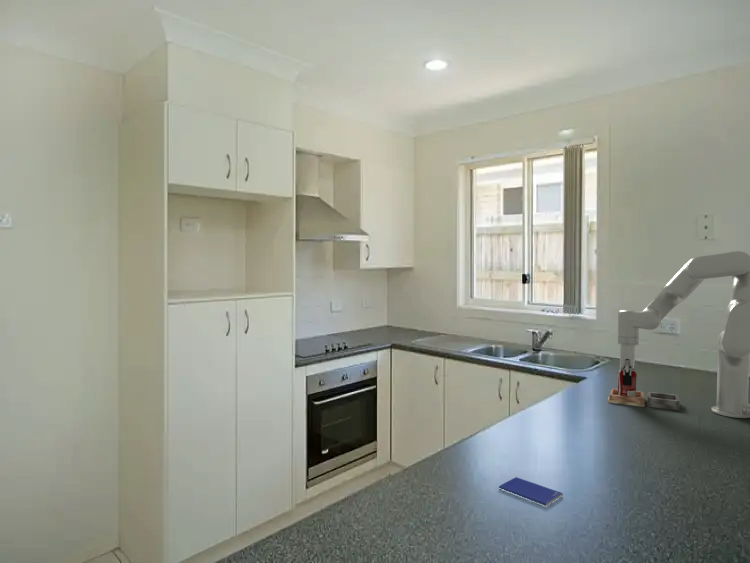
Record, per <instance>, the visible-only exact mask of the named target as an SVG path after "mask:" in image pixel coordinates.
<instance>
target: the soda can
mask: <svg viewBox="0 0 750 563" xmlns="http://www.w3.org/2000/svg"><path fill="white" fill-rule="evenodd" d="M623 371H624V367H623V368H622V369H620V368H619V370H618V371H617V382H616V385H617V386H616V389H617V395H620V396H628V397H636V391H637V372H636V369H635V368H633V370H631V376H632V385H631V386H627V385H623Z"/></svg>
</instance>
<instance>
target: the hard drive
mask: <svg viewBox="0 0 750 563" xmlns="http://www.w3.org/2000/svg"><path fill="white" fill-rule="evenodd" d="M499 488H501V489H504V490H506V491H509V492H512V493H514V494H517V495H519V496H522V497H524V498H527V499H529V500H531V501H534V502H536V503H539V504H542V505H544V506H547V505H549V504H550V503H552V502H553V501H555V500H556V499H558V498H560V497H561V496H562V495H563V496H564V493H563V492H561V491H557V490H555V489H552V488H549V487H545V486H543V485H540V484H537V483H536V482H535V483H534V482H532V481H528V480H525V479H522V478H520V477H517V476H516V477H514V478H512V479H510V480H508V481H506V482H504V483H502V484H500V485H499V486H498V489H499ZM560 499H561V498H560Z"/></svg>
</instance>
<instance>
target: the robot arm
mask: <svg viewBox="0 0 750 563" xmlns="http://www.w3.org/2000/svg"><path fill="white" fill-rule="evenodd" d="M725 277H732V286H731V287H732V288H731V293H730V296H729V301H728V304H727V307H726V310H725V316H726V322H725V327H724V328H725V329H724V330H722V331H721V332H720V333H719V335H718V337H717V345H716V346H717V376H716V378H717V379H716V405H714V406H711V409H710V410H711V412H713V413H714V414H716V415H719V416H724V417H729V418H737V419H750V403H749V380H750V379H749V378H750V254H749V253H747V252H745V251H742V250H735V251H729V252H723V253H715V254H710V255H701V256H694V257H692V258H690V259H688V261H687V262H686V263H685V264H684V265H683V266H682V267H681V268H680V269H679V271H677V272H676V273H675V275H674V276H673V277H671V279H670V280H669V281H668V282H667V283H666V284H665V285H664V287H663V288H662V289H661V291H660V292H659V294H657V295H656V296H655V297H654V298H653V300H652V301H651V302H650V303H649V304H648V305H647V306H646V307H645V308H644V309H643V310H641V311H638V310H635V309H621V310H619V311H618V313H617V314H618V315H617V344H618V345H620V348H619V350H620V351H619V370H620V369H622V368H623V367H624V371H623V385H627V386H631V385H632V376H631V370H633V369H635V368H634V367H635V360H636V358H635V357H636V346H639V341H640V340H639V339H640V338H639V334H640V329H642V330H648V331H650V330H651V331H652V330H655V329H656V330H657V329H658V328H659V327H660V325H661V322H662V320H664V318H666V317H667V315H668V314H669V313H670V312H671V311H672V310H673V309H674V308H675V307H677V306H678V305H680V304H681V303H683V302H684V301H685V300H687V299H688V297H689V296H691V294H692V293H694V291H695V290H696V289H698V288H699V286H700V284H702V282H704V281H705V280H708V279H716V278H717V279H718V278H725Z"/></svg>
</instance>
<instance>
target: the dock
mask: <svg viewBox="0 0 750 563" xmlns="http://www.w3.org/2000/svg"><path fill="white" fill-rule="evenodd" d="M644 394H645V393H644V391H639V390H636V397H628V396H620V395H617V388H611V389H610V392H609V395H608V398H607V403H609V404H618V405H626V406H634V407H643V408H645V406H646V404H645V402H646V396H644ZM680 403H681V402H680V397H679V394H673V393H672V394H671V393H663V392H662V393H661V392H654V391H647V407H648V408H649V407H650V408H656V409H663V410H672V411H673V410H674V411H680Z"/></svg>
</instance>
